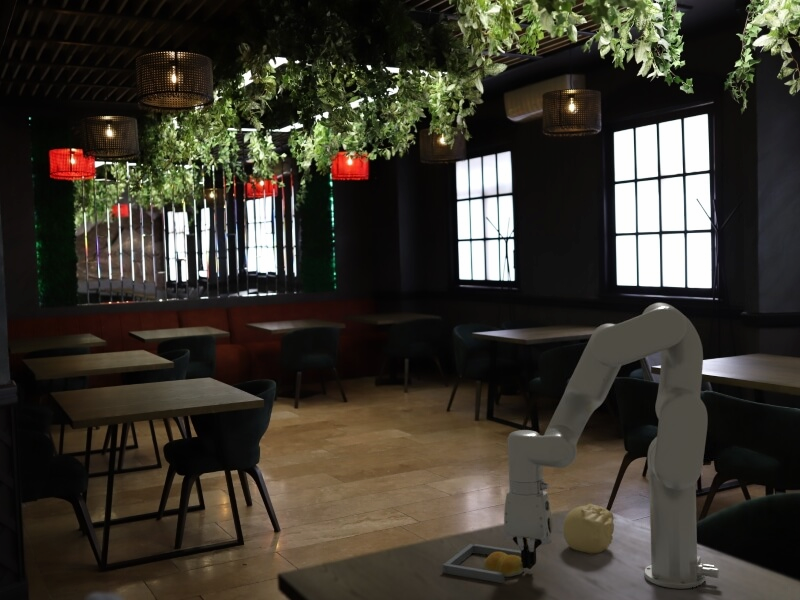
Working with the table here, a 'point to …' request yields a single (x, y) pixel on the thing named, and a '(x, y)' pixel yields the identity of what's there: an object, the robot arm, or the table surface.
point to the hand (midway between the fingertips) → (529, 566)
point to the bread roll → (504, 564)
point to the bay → (454, 569)
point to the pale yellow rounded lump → (589, 528)
